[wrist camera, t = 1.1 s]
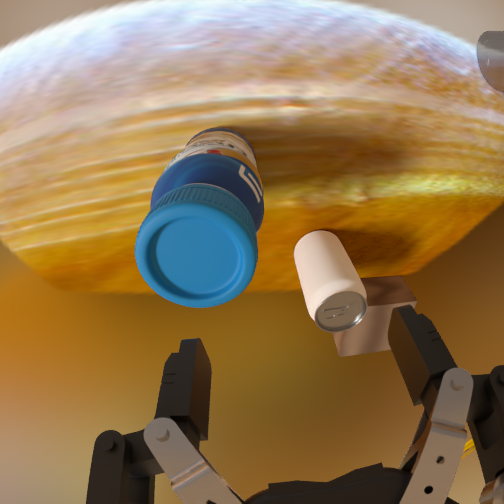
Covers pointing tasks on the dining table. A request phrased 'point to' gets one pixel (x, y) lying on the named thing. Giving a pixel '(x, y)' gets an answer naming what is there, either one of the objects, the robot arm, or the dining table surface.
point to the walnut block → (375, 316)
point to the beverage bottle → (203, 222)
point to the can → (329, 282)
